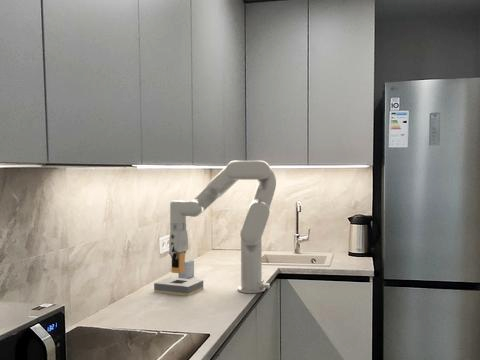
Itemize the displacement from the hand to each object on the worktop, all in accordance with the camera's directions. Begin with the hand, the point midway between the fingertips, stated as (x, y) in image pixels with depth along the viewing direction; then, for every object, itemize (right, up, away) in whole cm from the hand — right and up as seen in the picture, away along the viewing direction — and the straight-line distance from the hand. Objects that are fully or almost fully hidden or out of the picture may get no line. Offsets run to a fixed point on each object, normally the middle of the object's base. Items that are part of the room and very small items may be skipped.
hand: (178, 265), depth 224 cm
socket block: (0, -11, 0) cm, 11 cm away
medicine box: (+1, -11, +27) cm, 30 cm away
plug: (0, -3, 0) cm, 3 cm away
